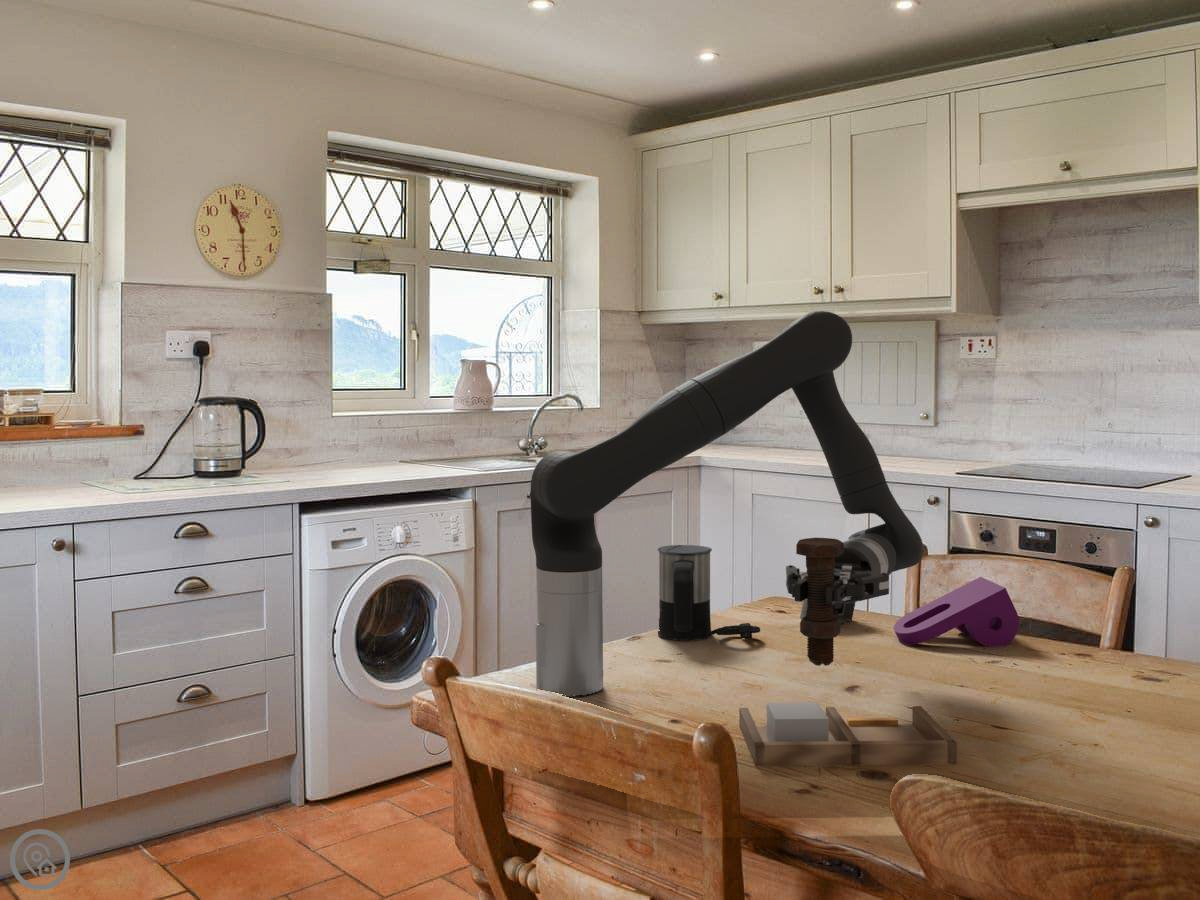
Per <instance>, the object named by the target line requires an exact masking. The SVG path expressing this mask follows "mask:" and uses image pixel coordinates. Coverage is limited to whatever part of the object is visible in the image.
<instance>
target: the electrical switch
mask: <svg viewBox="0 0 1200 900" xmlns="http://www.w3.org/2000/svg"><path fill="white" fill-rule="evenodd" d="M807 603H808V602H807V598H806V599H805V600H803V601H802V605H801V606H802V607H801V610H800V616H799V618H800V621H801V620H802V618H803V617H805V616H807V614H808V613H807V611H808V610H807V609H808V607H807V606H808V605H807ZM833 605H834V607H833V608H834V610H833V611H834V612H833V613H834V615H833V616H834V617H836V618H837V619H838V620H839V621H841V622H844V623H848V622H847V621H851V622H852V621H853V617H854V616H853V615H854V612H855V607H856V602H854V603H841V602H836V603H835V604H833Z"/></svg>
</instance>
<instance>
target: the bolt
mask: <svg viewBox="0 0 1200 900" xmlns="http://www.w3.org/2000/svg"><path fill="white" fill-rule="evenodd" d="M843 542H844V541H841V540H840V539H837V538H831V537H808V538H807V537H806V538H801V539H799V540H798V541H797V543H796V547H795V548H796V550H795V551H796V553H795V554H796V555H799V556H804V557H805V567H806V571H807V572H808V573H807V575H808V576H807V578H808V579H807V580H808V581H807V583H808V584H807V586H808V587H807V591H808V592H807V594H808V595H807V597H808V598H807V602H808V603H807V605H808V606H807V607H808V609H807V610H808V611H807V613H808V614H807V616H805V617H803V618H802V620H801V619H800V623H799V633H801V635H802V636H804V637H806V639H807V640H806V643H807V644H806V645H807V647H806V648H807V650H806V651H807V652H806V654H807V655H806V656H807V659H808V660H809V662H810V663H811V664H813V665H814V666H817V667H818V666H819V667H820V666H822V665H824V666H825V667H826V666H829V665H831V664H832V663H833V662H834V656H835V655H834V643H835V641H834V640H835V639H834V638H836V637H838V636H840V633H841V628H842V627H841V626H842V625H841V624H842V623H841V621H839V620H838V619H837V618H836V617H834V616H833V615H834V613H833V612H834V611H833V610H834V608H833V607H834V605H829V604H826V588H827V586H828V585H830V584H831V583H833V582H834V581H833V579H834V578H833V577H834V575H833V574H834V572H833V571H834V567H835V557H838V556H840V555H841V554H843V553H844V543H843Z"/></svg>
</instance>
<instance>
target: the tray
mask: <svg viewBox="0 0 1200 900" xmlns="http://www.w3.org/2000/svg"><path fill="white" fill-rule="evenodd" d="M738 713H739V718H738V720H739V721H738V722H739V723H738V724H739V730H740V732H741V735H742V737H743V739H744V743H745V744H746V747H747V749H748V752H749V754H750V757H751V758H752V761H753V764H754V767H791V766H792V767H797V766H798V767H803V766H804V767H805V766H806V767H807V766H809V767H810V766H812V767H813V766H814V767H815V766H895V765H896V766H899V765H900V766H902V765H903V766H905V765H907V766H908V765H910V766H911V765H913V766H914V765H916V766H917V765H919V766H920V765H923V766H925V765H957V763H958V762H957V760H958V758H957V757H958V755H957V754H958V751H957V750H958V743H957V742H956V741H955V739H953V738H952V736H951V735H950V734H949V733H948V732H946V730H945V729H944V728H943V727H942V726H941V725H940V724H939V723H938V722H937V721H936V720H935V719H934V718H933V717H932V716H931V715H930V714H929V713H928V712H927V711H926V710H925V709H924V707H922V706H921V705H913V706H912V711H911V713H912V719H911V720H912V721H911V724H899V719H898V718H896V717H871V718H870V717H862V718H861V717H859V718H858V717H856V718H854V717H852V718H850V717H849V718H848V717H847V718H846V721H845V720H844V718H843V717H842V716H841V714H840V713H839V712H838V710H837V709H836V707H834V706H825V714H826V716H827V717H828V718H829V741H802V742H769V740H768V738H767V725H760V726H759V725H756V723H755V721H754V718H753V716H752V714H751V712H750V710H749V707H739V711H738Z"/></svg>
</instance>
